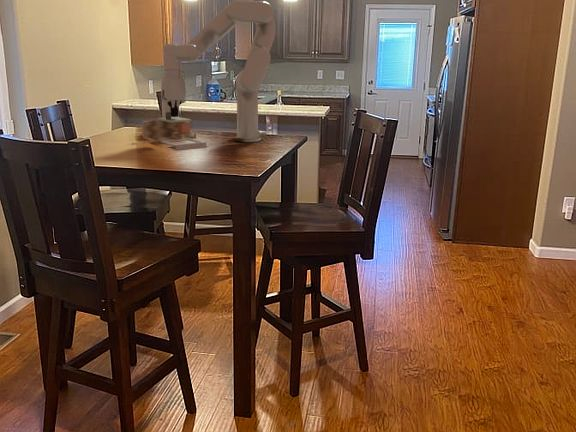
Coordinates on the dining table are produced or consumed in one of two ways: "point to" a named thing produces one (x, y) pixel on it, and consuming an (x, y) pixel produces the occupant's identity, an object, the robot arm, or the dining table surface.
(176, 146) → the tray
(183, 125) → the block
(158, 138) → the small wooden cabinet
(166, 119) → the lid
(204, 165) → the dining table surface
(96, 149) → the dining table surface
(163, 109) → the cracker box
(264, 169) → the dining table surface
